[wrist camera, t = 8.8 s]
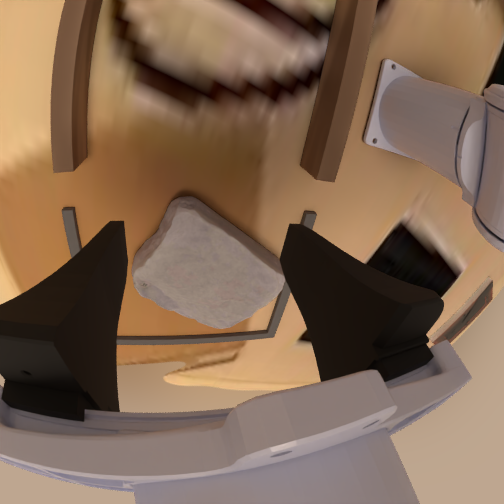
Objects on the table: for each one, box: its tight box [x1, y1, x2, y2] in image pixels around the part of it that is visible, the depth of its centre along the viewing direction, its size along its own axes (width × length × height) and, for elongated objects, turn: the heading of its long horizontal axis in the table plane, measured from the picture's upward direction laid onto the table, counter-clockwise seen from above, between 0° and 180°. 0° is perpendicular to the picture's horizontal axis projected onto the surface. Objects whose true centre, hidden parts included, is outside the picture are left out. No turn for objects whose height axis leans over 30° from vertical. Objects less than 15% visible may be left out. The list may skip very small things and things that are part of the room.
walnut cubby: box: [51, 0, 377, 182], centre depth 11 cm, size 19×20×3 cm
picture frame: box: [429, 276, 493, 344], centre depth 54 cm, size 16×2×22 cm
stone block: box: [132, 196, 285, 329], centre depth 23 cm, size 12×5×10 cm
